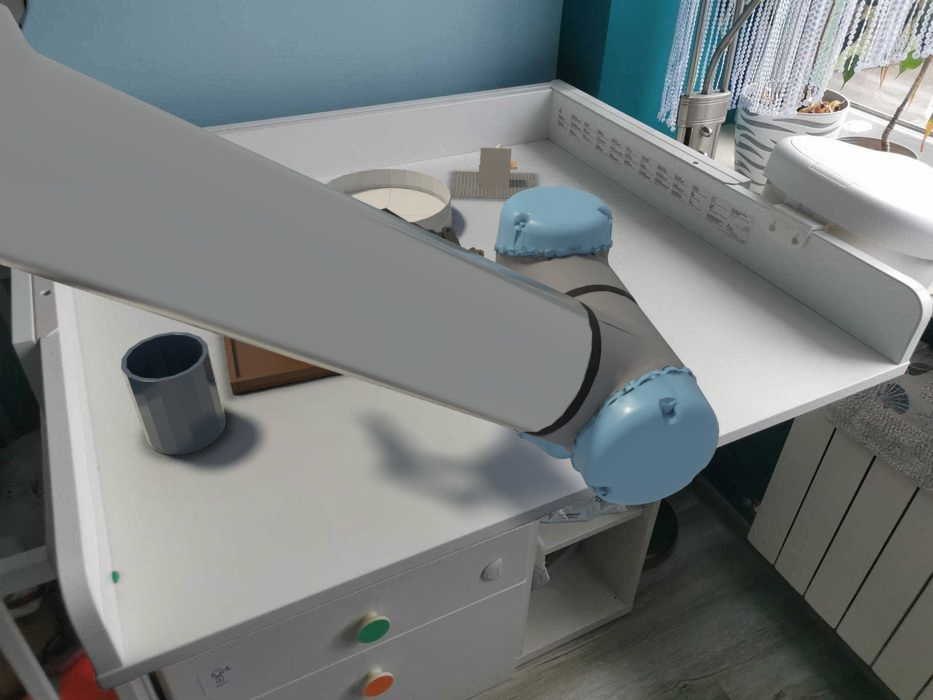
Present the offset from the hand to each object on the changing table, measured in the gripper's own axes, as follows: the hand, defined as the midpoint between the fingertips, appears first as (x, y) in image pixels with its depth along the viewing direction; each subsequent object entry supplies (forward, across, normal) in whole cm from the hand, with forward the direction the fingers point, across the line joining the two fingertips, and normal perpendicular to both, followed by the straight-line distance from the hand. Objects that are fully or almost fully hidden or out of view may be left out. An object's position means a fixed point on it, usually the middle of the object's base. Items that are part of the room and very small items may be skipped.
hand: (329, 237), depth 73 cm
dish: (+30, +27, -18) cm, 44 cm away
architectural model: (+30, +51, -18) cm, 62 cm away
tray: (+10, 0, -18) cm, 21 cm away
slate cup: (+2, -18, -18) cm, 26 cm away
